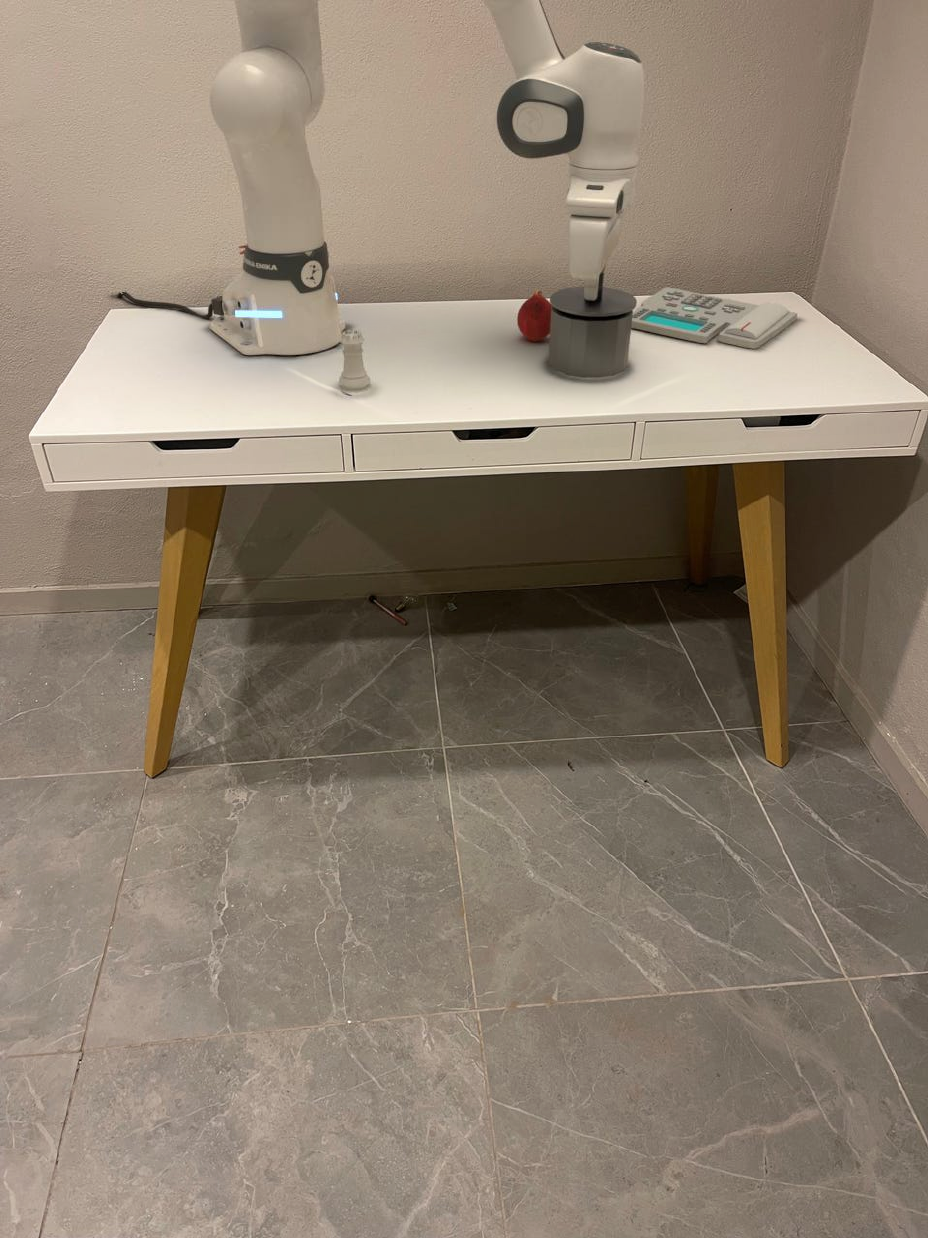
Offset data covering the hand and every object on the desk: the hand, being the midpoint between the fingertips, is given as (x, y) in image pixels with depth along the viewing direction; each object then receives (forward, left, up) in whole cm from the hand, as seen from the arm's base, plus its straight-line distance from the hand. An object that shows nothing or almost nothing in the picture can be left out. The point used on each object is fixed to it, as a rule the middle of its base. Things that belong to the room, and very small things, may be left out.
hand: (593, 294), depth 134 cm
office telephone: (+1, +29, -10) cm, 31 cm away
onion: (-12, +2, -10) cm, 16 cm away
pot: (0, 0, -10) cm, 10 cm away
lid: (0, 0, -1) cm, 1 cm away
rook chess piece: (-16, -30, -10) cm, 36 cm away
